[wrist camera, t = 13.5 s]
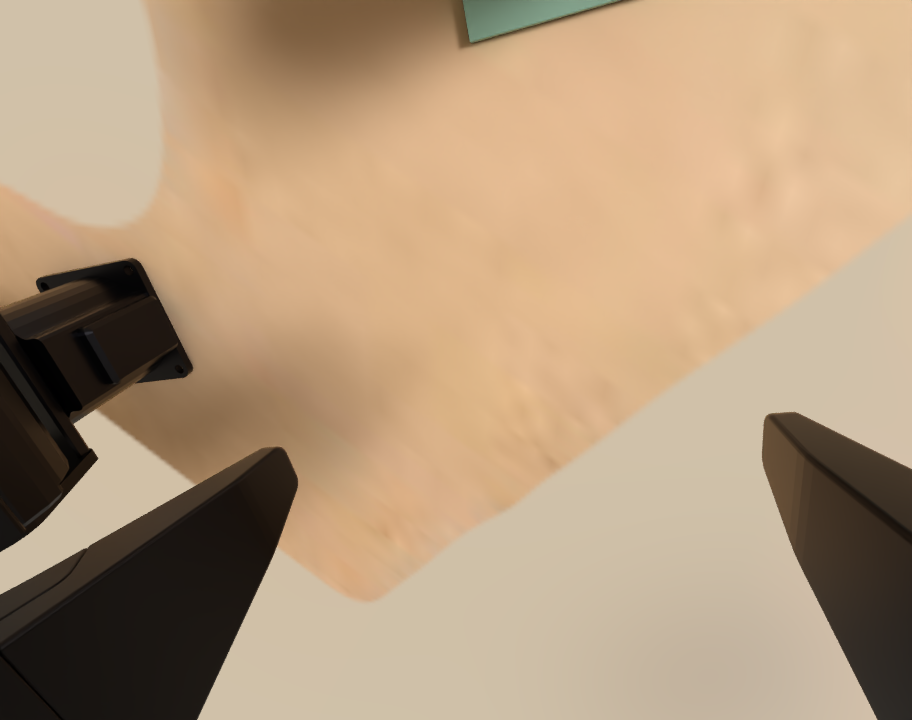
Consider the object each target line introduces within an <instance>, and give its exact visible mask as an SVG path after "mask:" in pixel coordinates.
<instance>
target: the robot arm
mask: <svg viewBox="0 0 912 720" xmlns="http://www.w3.org/2000/svg"><path fill="white" fill-rule="evenodd" d="M130 267H131V268H132V270H133V271H132V270H131V269H130ZM36 285H37V287H38V289H39V291H40V294H37V295H34V296H31V297H29V298H26V299H23V300H21V301H18V302H15V303H13V304H10V305H7V306H5V307H2V308H0V552H1V551H3V550H5V549H6V548H8V547H9V546H11V545H13V544H15V543H16V542H18V541H19V540H21V539H22V538H24V537H25V536H26V535H28V534H29V533H30V532H32V531H33V530H34V529H35V528H37V527H38V526H39V525H40V524H41V523H42V522H43V521H44V520H45V519H46V518H47V517H48V516H49V515H50V513H51V512H52V511H53V510H54V509H55V508H56V507H57V505H58V504H59V503H60V502H61V501H62V500H63V499H64V497H65V496H66V495H67V494H68V493H69V492H70V491H71V489H72V488H73V487H74V486H75V485H76V484H77V483H78V481H79V480H80V479H81V478H82V477H83V476H84V474H85V473H86V472H87V471H88V470H89V469H90V468H91V467H92V465H93V464H94V463H95V462H96V461H97V460H98V457H97V456H96V454H95V453H94V451H93V450H92V449H89V448H88V446H87V445H86V443H85V442H84V440H83V438H82V437H81V435H80V434H79V432H78V431H77V429H76V428H75V426H74V425H73V424H74V423H75V422H77V421H78V420H80V419H81V418H83V417H84V416H86V415H87V414H89V413H90V412H92V411H94V410H95V409H97V408H98V407H100V406H101V405H103V404H104V403H106V402H107V401H109V400H110V399H112V398H113V397H115V396H116V395H118V394H119V393H121V392H122V391H124V390H125V389H127V388H128V387H130V386H131V385H133V384H134V383H142V382H151V381H159V380H167V379H176V378H184V377H186V376H188V375H189V374H190V373H191V372H192V371H193V367H192V364H191V362H190V360H189V358H188V356H187V354H186V352H185V350H184V348H183V346H182V344H181V342H180V340H179V338H178V336H177V334H176V332H175V330H174V328H173V326H172V324H171V322H170V320H169V318H168V316H167V314H166V312H165V310H164V308H163V306H162V304H161V302H160V300H159V298H158V296H157V294H156V292H155V290H154V288H153V286H152V284H151V282H150V280H149V278H148V276H147V274H146V272H145V270H144V268H143V266H142V265H141V263H140V262H139V261H137V260H136V259H133V258H128V259H124V260H119V261H114V262H109V263H104V264H99V265H94V266H90V267H85V268H80V269H75V270H70V271H65V272H60V273H56V274H51V275H46V276H43V277H40V278H38V279H37V281H36ZM181 367H182V368H183V369H182V368H181ZM762 461H763V466H764V470H765V472H766V476H767V478H768V481H769V484H770V487H771V489H772V492H773V495H774V498H775V501H776V504H777V507H778V509H779V512H780V515H781V518H782V520H783V523H784V526H785V529H786V532H787V534H788V537H789V540H790V543H791V545H792V548H793V551H794V553H795V555H796V557H797V560H798V562H799V564H800V566H801V568H802V570H803V572H804V574H805V576H806V578H807V580H808V582H809V584H810V586H811V588H812V590H813V592H814V594H815V596H816V598H817V600H818V602H819V604H820V606H821V608H822V610H823V611H824V614H825V616H826V618H827V620H828V622H829V624H830V626H831V628H832V630H833V632H834V634H835V636H836V638H837V640H838V642H839V644H840V646H841V648H842V650H843V652H844V654H845V656H846V658H847V660H848V662H849V664H850V666H851V668H852V670H853V672H854V674H855V676H856V678H857V680H858V682H859V684H860V686H861V687H862V690H863V692H864V694H865V695H866V697H867V700H868V702H869V704H870V706H871V708H872V710H873V711H874V714H875V715H876V718H877V720H912V469H910V468H908V467H906V466H904V465H902V464H900V463H898V462H896V461H894V460H892V459H890V458H888V457H886V456H884V455H882V454H880V453H878V452H876V451H874V450H872V449H870V448H868V447H865V446H863V445H862V444H860V443H857V442H855V441H854V440H851V439H849V438H847V437H845V436H843V435H841V434H839V433H837V432H835V431H833V430H831V429H829V428H827V427H825V426H823V425H821V424H819V423H817V422H815V421H813V420H811V419H809V418H807V417H805V416H803V415H801V414H799V413H796V412H784V413H772V414H768V415H767V416H766V417H765V420H764V430H763V447H762ZM297 488H298V478H297V475H296V473H295V471H294V468H293V466H292V464H291V462H290V459H289V457H288V455H287V453H286V451H285V450H284V449H283V448H281V447H266V448H262V449H260V450H258V451H256V452H255V453H253V454H251V455H249V456H247V457H246V458H244V459H242V460H240V461H239V462H237V463H235V464H233V465H232V466H230V467H228V468H226V469H224V470H223V471H221V472H219V473H217V474H216V475H214V476H212V477H210V478H209V479H207V480H205V481H203V482H201V483H200V484H198V485H196V486H194V487H193V488H191V489H189V490H187V491H186V492H184V493H182V494H180V495H178V496H177V497H175V498H173V499H172V500H170V501H168V502H166V503H164V504H163V505H161V506H159V507H157V508H156V509H154V510H152V511H150V512H148V513H147V514H145V515H143V516H141V517H140V518H138V519H136V520H134V521H132V522H131V523H129V524H127V525H126V526H124V527H122V528H120V529H118V530H117V531H115V532H113V533H111V534H110V535H108V536H106V537H104V538H102V539H101V540H99V541H97V542H95V543H94V544H92V545H90V546H89V547H88V549H87V548H86V549H83V550H81V551H79V552H78V553H76V554H74V555H72V556H70V557H69V558H67V559H65V560H63V561H62V562H60V563H58V564H56V565H55V566H53V567H51V568H49V569H47V570H45V571H43V572H42V573H40V574H38V575H36V576H34V577H33V578H31V579H29V580H27V581H25V582H23V583H21V584H20V585H18V586H16V587H14V588H12V589H10V590H8V591H6V592H4V593H3V594H1V595H0V720H197V719H198V717H199V714H200V712H201V710H202V708H203V706H204V704H205V702H206V699H207V697H208V695H209V693H210V691H211V689H212V687H213V685H214V682H215V680H216V678H217V676H218V674H219V671H220V669H221V667H222V665H223V663H224V661H225V659H226V657H227V654H228V652H229V650H230V648H231V645H232V644H233V641H234V639H235V637H236V635H237V633H238V631H239V629H240V627H241V624H242V622H243V620H244V618H245V616H246V613H247V612H248V609H249V607H250V605H251V603H252V601H253V599H254V596H255V594H256V592H257V590H258V588H259V586H260V584H261V581H262V579H263V577H264V575H265V573H266V570H267V569H268V566H269V564H270V562H271V560H272V557H273V555H274V553H275V550H276V547H277V545H278V542H279V539H280V536H281V534H282V531H283V528H284V525H285V522H286V519H287V517H288V514H289V511H290V508H291V505H292V503H293V500H294V497H295V494H296V491H297Z"/></svg>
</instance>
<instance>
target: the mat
mask: <svg viewBox="0 0 912 720" xmlns="http://www.w3.org/2000/svg"><path fill="white" fill-rule="evenodd" d="M617 1H621V0H463V5H464V11H465V17H466V22H467V28H468V34H469V40H470V42H471V43H474V42H478V41H481V40H485V39H488V38H492V37H495V36H499V35H502V34H506V33H509V32H513V31H516V30H520V29H523V28H527V27H530V26H534V25H537V24H541V23H544V22H548V21H551V20H555V19H558V18H562V17H565V16H569V15H572V14H575V13H579V12H582V11H586V10H589V9H593V8H596V7H600V6H603V5H607V4H610V3H614V2H617Z"/></svg>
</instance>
